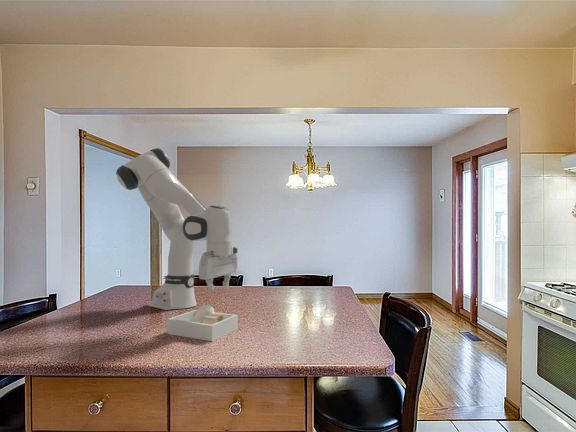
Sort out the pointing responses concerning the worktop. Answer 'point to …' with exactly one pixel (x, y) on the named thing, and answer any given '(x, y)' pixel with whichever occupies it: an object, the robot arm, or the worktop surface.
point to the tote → (201, 326)
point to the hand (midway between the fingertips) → (218, 288)
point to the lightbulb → (202, 313)
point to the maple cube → (212, 318)
